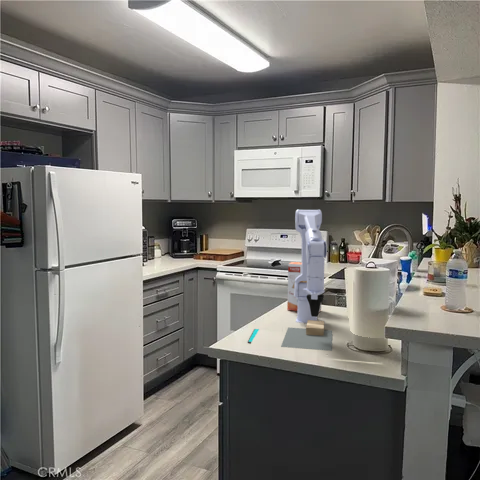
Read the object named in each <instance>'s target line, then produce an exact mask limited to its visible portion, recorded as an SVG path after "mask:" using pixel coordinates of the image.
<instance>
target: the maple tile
mask: <svg viewBox="0 0 480 480" xmlns="http://www.w3.org/2000/svg"><path fill="white" fill-rule="evenodd" d="M305 329H306V335H320V336H323V335H324V330H325V320H317V321H316V320H308V321H307V323H306V326H305Z"/></svg>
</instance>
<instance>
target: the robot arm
mask: <svg viewBox="0 0 480 480" xmlns="http://www.w3.org/2000/svg"><path fill="white" fill-rule="evenodd" d="M294 221H295V228H294V229H295V231H296V232H298V233H299V234H300V238H301V263H302V274H301V275H299V276H298V277H296V279H295V284H294V296H295V297H296V298H297V299H298V311H296V312H297V313H296V315H297V316H296V319H295V323H302V324H305V323H306V324H307V321H308V320H316V321H318V317H319V314H320V312H319V309H320V305H321V306H322V302H323V300H324V297H325V296H324V295H325V294H324V293H325V261H326V260H325V259H326V258H327V253H328V249H327V247H328V246H327V242H326V240H324V239H323V236H322V235H323V234H322V231H321V230H320V229H321V226H322V225H321V224H322V223H323V213H322V210H321V209H296V210H295V217H294ZM300 281H307V282H300Z"/></svg>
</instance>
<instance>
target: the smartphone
mask: <svg viewBox="0 0 480 480" xmlns="http://www.w3.org/2000/svg"><path fill="white" fill-rule="evenodd" d="M259 331H260V329H259V328H254V329H253V331H252V332H251V334H250V336H249V338H248V340H247V344H252V342H253V340H254V338H255V337H256V335H257V334H258V332H259Z"/></svg>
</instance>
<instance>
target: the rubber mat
mask: <svg viewBox="0 0 480 480" xmlns="http://www.w3.org/2000/svg"><path fill="white" fill-rule="evenodd" d="M280 347H281V348H291V349H292V348H293V349H304V350H305V349H306V350H317V351H330V352H332V351H333V330H331V329H324V335H323V336H320V335H306V328H303V327H302V328H301V327H287V330H286V332H285V335H284V338H283V341H282V343H281V345H280Z"/></svg>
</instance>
